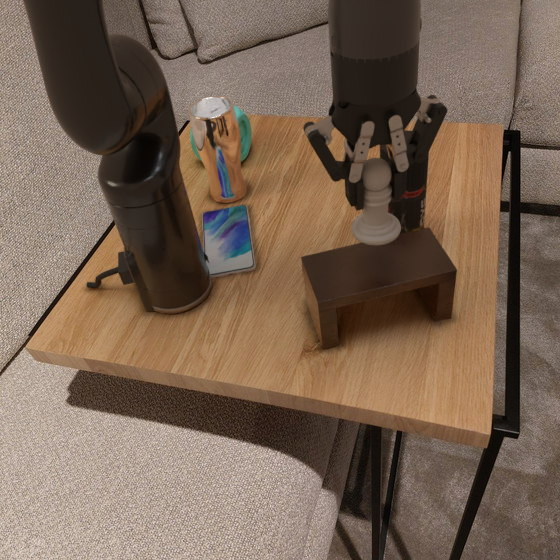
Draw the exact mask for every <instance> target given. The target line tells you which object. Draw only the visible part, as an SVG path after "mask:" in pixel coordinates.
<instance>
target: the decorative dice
mask: <svg viewBox="0 0 560 560" xmlns="http://www.w3.org/2000/svg"><path fill="white" fill-rule="evenodd" d="M233 106H234V110H235V113H236V117H237V120H238V125H239V130H240V137H241V163H242V162H244V160H245V159H246V158H247V157H248V155H249V153H250V150H251V145H252V124H251V121H250V118H249V116H248V115H247V114H246V113H245V112H244V111H243V110H242V109H241V108H240V107H238V106H237V105H234V104H233ZM189 140H190V146H191V149H192V152H193V153H194V155H195V156H196V158H197V159H198V160H199V161H200V162H202V160H201V157H200V155H199V153H198V150H197V148H196V145H195V142H194V138H193V134H192V129H191V128H190V131H189Z"/></svg>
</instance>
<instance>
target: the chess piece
mask: <svg viewBox="0 0 560 560" xmlns="http://www.w3.org/2000/svg"><path fill="white" fill-rule="evenodd" d="M391 176H392V171H391V167H390V165H389V164H388V162H386V161H385V160H383V159H381V158H380V157H370V158H367V160H366V162H364V164H363V169H362V174H361V178H362V180H363V198H364V209H362V213H361V214H359V215H358V216H356V217H355V218H354V219H353V221H352V223H351V227H350V231H351V233H352V236H353V237H354V239H356V240H357V241H358V242H359V243H365V244H368V245H384V244H387V243H389V242H392V241H393V240H395V239H396V238H397V237H398V236H399V234H400V231H401V225H400V222H399V220H398V219H397V218H396V217H395V216H394V215H392V214H390V213H388V203H389V202H390V201H391V198H392V195H391V192H392V187H391V185H390V184H389V182H390V180H391Z"/></svg>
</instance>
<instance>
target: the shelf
mask: <svg viewBox="0 0 560 560" xmlns="http://www.w3.org/2000/svg"><path fill="white" fill-rule="evenodd" d="M300 261H301V262H300V263H301V270H302V277H303V286H304V293H305V303H306V305H307V309H308V311H309V314H310V318H311V320H312V322H313V323H312V324H313V326H314V329H315V331H316V335H317V337H318V340H319V343H320V346H321V348H322V350H326V349H331V348H334V347H338V346H339V345H340V344H339V342H340V341H339V328H338V315H337V308H341V307H345V306H350V305H354V304H357V303H362V302H367V301H370V300H375V299H379V298H383V297H387V296H392V295H396V294H400V293H404V292H409V291H414V290H417V291H418V293H419V296H420V297H421V298H422V300H423V302H424V304H425V306H426V307H427V310H428V311H429V312H430V315H431V316H432V318H433V320H434V322H435V323H437V322H440V321H446V320H450V319H452V316H453V308H454V299H455V293H456V292H455V291H456V283H457V275H458V269H457V268H456V266H455V264H454V263H453V261H452V259H451V258H450V257H449V255H448V253H447V252H446V250H445V249H444V247H443V245H442V244H441V243H440V241H439V240H438V238H437V237H436V235H435V234H434V232H433V231H432V229H431V228H430V226H429V227H427V226H426V227H424V228H423V229H419V230H415V231H410V232H406V233H402V234H399V236H398V237H397V238H396V239H395V240H393V241H392V242H389V243H387V244H384V245H368V244H365V243H362V242H359V243H354V244H349V245H346V246H342V247H338V248H332V249H328V250H323V251H320V252H315V253H312V254H311V253H310V254H307V255H303V256H300Z"/></svg>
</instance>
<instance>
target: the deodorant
mask: <svg viewBox="0 0 560 560" xmlns="http://www.w3.org/2000/svg"><path fill="white" fill-rule="evenodd" d="M411 132H412V130H406V129H405V130H404V132H403V133H404V138H405V142H406V144H407V142H408V139H409V137H410V135H411ZM429 157H430V152H429V153H428V155H427V157H426V159H425V160H424V161H423V162H420V163H418V162H414V163H412V164H411V165H410V166H409V167H408V169H407V176H406V191H405V194H404V195H401V200H400V201H397V202H393V201H392V200H391V201H390V202H389V203H388V213H390V214H392V215H394V216H395V217H396V218H397V219H398V220H399V222H400V225H401V231H400V234H402V233H406V232H410V231H415V230H419V229H423V228H425V219H426V217H425V216H426V202H427V187H428V171H429ZM379 158H381V159H383V160H385V161H386V162H390V158H389V155H388V151H387V147H386V145H379Z"/></svg>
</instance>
